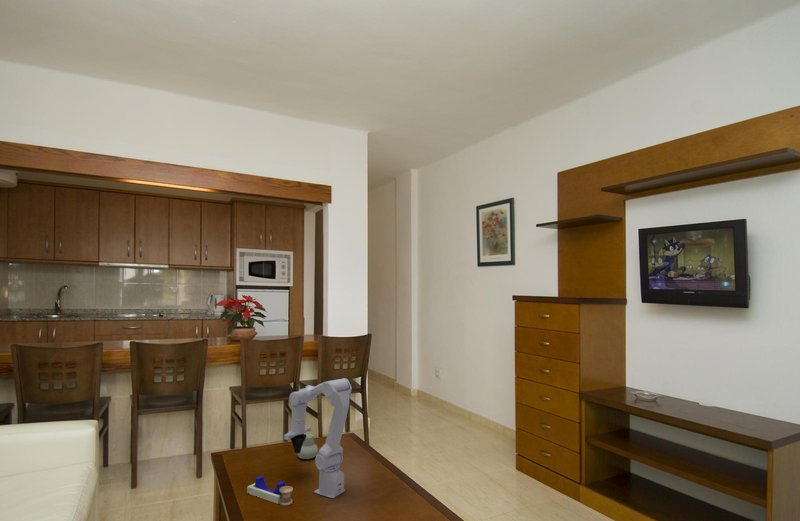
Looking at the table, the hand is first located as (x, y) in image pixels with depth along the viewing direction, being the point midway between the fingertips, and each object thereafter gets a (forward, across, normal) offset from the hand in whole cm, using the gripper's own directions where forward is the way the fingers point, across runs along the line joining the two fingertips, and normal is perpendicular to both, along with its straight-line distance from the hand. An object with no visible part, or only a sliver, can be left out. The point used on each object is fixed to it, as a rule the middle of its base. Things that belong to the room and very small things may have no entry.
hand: (297, 452), depth 194 cm
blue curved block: (+10, +18, +3) cm, 21 cm away
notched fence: (+10, +18, +3) cm, 21 cm away
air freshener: (+10, -19, -11) cm, 24 cm away
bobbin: (+10, +20, +12) cm, 25 cm away
